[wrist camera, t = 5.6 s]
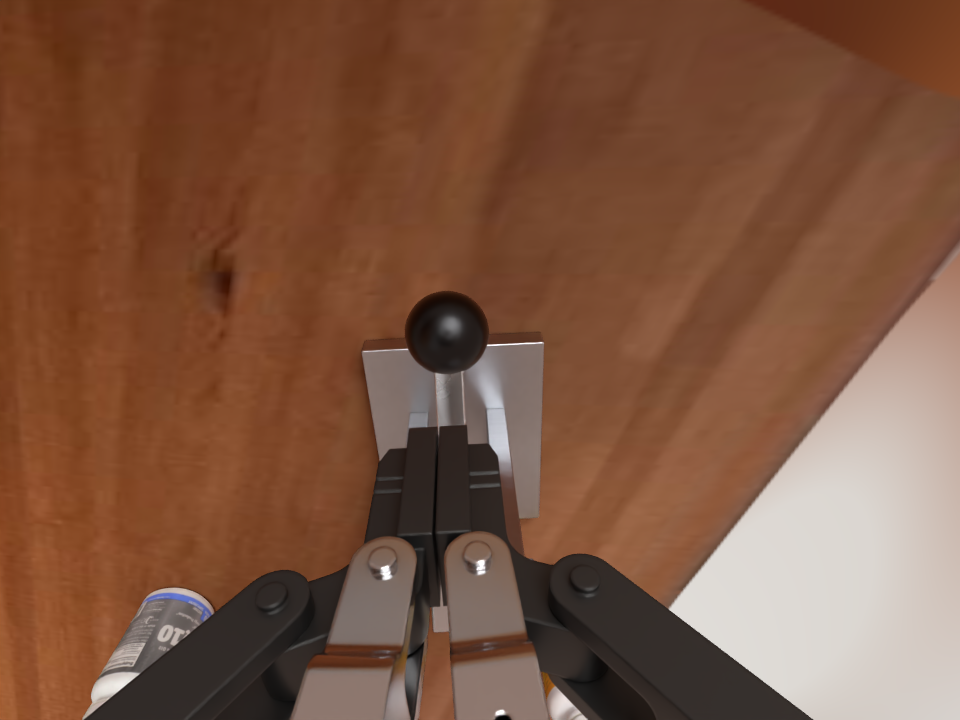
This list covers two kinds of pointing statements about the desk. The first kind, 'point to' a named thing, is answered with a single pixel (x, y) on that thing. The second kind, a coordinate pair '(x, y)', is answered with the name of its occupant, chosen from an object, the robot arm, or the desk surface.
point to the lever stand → (471, 410)
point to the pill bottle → (150, 638)
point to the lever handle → (447, 363)
